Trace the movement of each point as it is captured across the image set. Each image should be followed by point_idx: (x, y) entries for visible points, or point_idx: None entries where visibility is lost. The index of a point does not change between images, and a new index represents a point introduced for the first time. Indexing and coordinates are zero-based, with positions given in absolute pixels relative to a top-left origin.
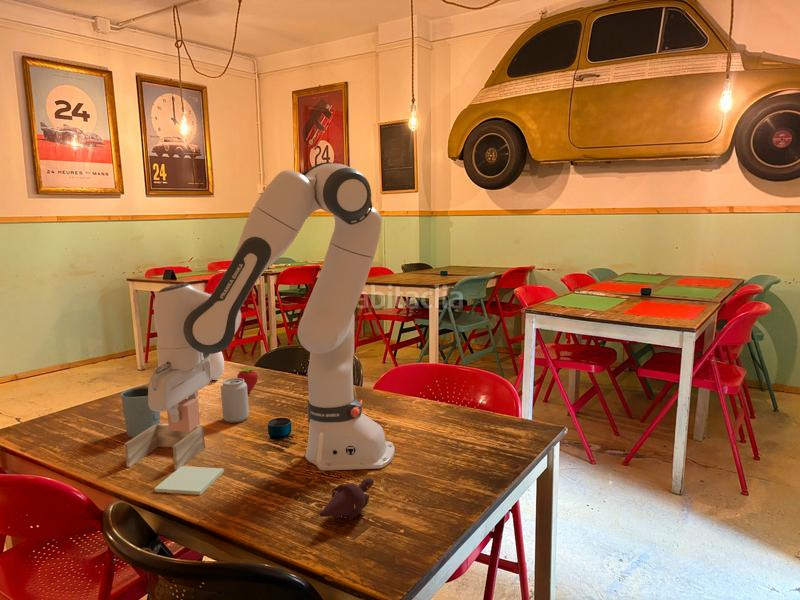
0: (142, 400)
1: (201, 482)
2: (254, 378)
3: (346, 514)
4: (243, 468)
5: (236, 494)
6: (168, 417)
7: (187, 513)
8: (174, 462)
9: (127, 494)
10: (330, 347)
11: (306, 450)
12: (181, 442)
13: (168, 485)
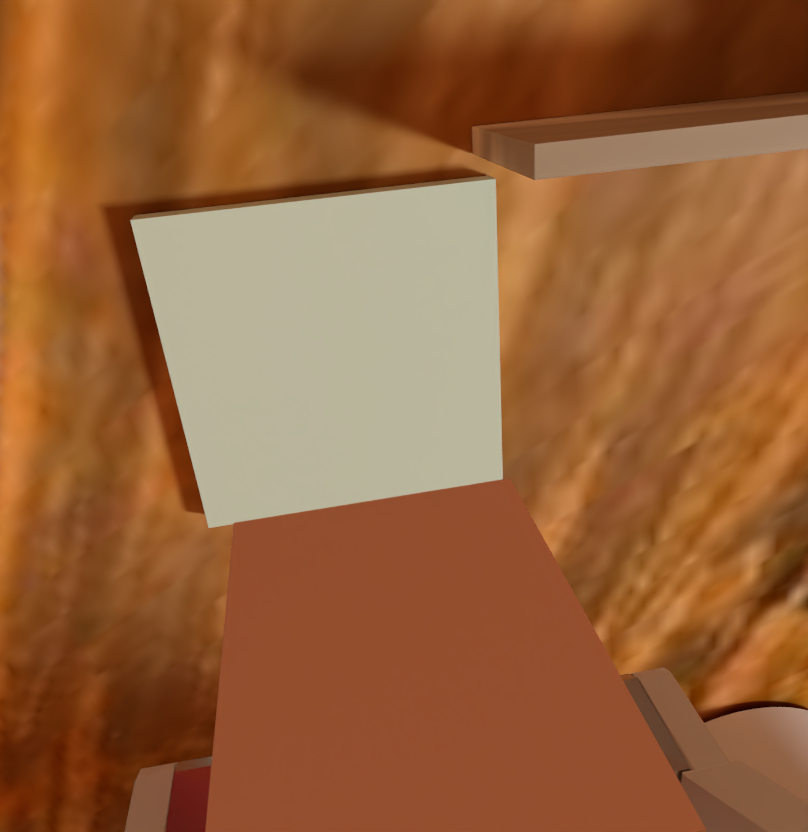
0: None
1: (306, 469)
2: None
3: None
4: (550, 541)
5: None
6: (223, 681)
7: (14, 573)
8: (488, 134)
9: (14, 13)
10: None
11: (719, 745)
12: (634, 167)
13: (204, 292)
